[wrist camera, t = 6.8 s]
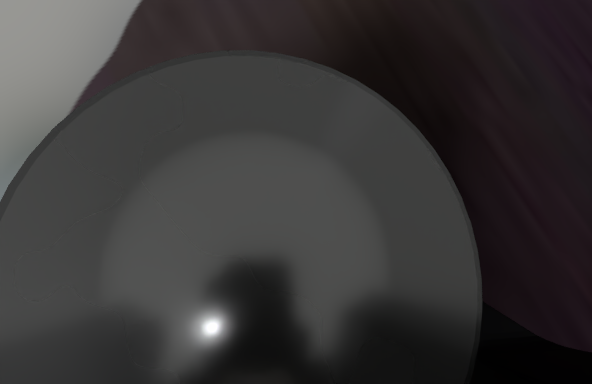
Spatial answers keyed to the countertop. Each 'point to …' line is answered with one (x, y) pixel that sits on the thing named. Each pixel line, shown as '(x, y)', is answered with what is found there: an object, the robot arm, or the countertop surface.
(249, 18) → the countertop surface
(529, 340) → the robot arm
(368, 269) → the metal canister
